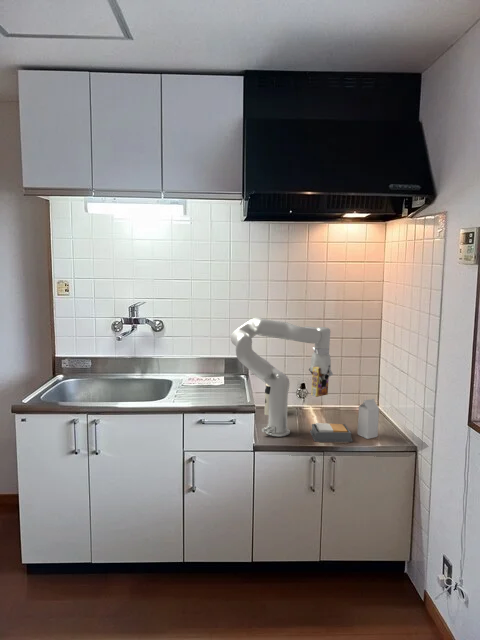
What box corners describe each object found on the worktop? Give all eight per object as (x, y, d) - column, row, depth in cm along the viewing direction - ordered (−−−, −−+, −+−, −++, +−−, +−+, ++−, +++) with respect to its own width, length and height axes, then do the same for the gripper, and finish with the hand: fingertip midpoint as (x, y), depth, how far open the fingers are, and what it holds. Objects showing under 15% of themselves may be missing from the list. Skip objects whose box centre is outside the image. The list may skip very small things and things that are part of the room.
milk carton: (377, 437, 244) (379, 400, 242) (367, 439, 241) (369, 402, 239) (367, 432, 250) (369, 397, 248) (357, 434, 247) (358, 398, 245)
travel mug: (278, 413, 281) (279, 383, 278) (278, 417, 273) (278, 386, 271) (264, 412, 281) (265, 382, 279) (264, 416, 273) (264, 385, 271)
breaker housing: (314, 441, 237) (314, 432, 236) (310, 432, 250) (310, 423, 249) (352, 441, 237) (353, 433, 237) (346, 432, 250) (346, 424, 250)
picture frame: (319, 432, 238) (319, 429, 238) (315, 425, 248) (315, 422, 248) (347, 433, 238) (347, 430, 238) (342, 427, 248) (342, 424, 248)
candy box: (317, 397, 247) (318, 368, 246) (310, 395, 250) (311, 366, 249) (328, 394, 253) (329, 366, 252) (322, 393, 256) (323, 365, 255)
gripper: (304, 349, 252) (302, 383, 254) (331, 354, 241) (329, 390, 243) (312, 348, 258) (310, 381, 260) (339, 352, 246) (337, 387, 248)
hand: (319, 385), depth 251 cm, fingers closed on candy box, 4 cm apart
